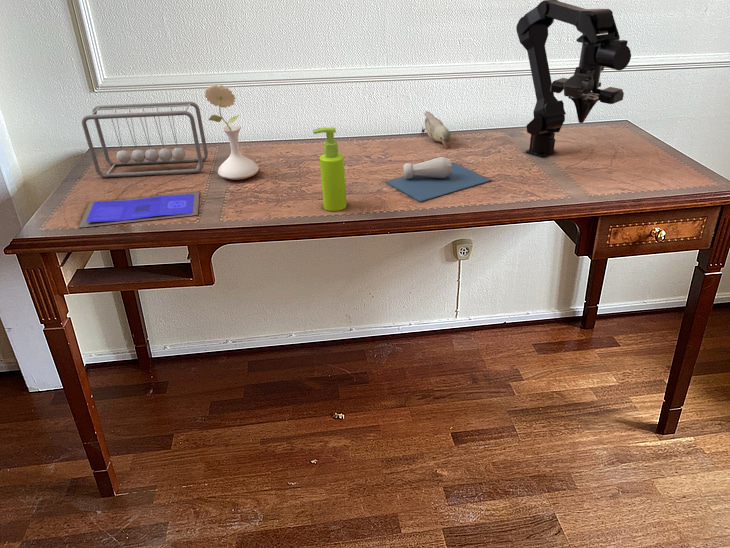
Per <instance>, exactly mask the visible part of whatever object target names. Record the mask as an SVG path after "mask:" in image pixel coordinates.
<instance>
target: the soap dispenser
mask: <svg viewBox="0 0 730 548" xmlns="http://www.w3.org/2000/svg"><path fill="white" fill-rule="evenodd" d="M336 129H337V128H336V127H319V128H314V129H313V130H312V133H313V135H316V134H324V133H326V140H325V141H323V154H321V155H319V158H318V159H319V169H320V182H321V194H322V207H323V209H324V210H326V211H328V212H340V211H342V210H345V209H346V208H347V190H346V171H345V157H344V155H343V154H342V153H340V152H339V143H338V141H337V140H335V134H337V130H336Z"/></svg>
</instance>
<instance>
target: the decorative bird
mask: <svg viewBox="0 0 730 548" xmlns="http://www.w3.org/2000/svg"><path fill="white" fill-rule="evenodd" d="M423 115H424V117H425V118H424V126H423V125H421V126H422V127H421V133H420V135H422V134H423V136H425V134H427V135H428V137H429V138H430V139H431V140H432V141H436V142H438V143H441V144H442V145H443V146H444V148H446V149H447V148H448V147H449V145H450V142H451V132H450V130H449V128H447V126H445V125H444V123H443V121H442V120H441V119H439V118H437V117H435V115H434V114H433V113H432V112H430V111H429V110H425V112H423Z"/></svg>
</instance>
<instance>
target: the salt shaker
mask: <svg viewBox="0 0 730 548" xmlns="http://www.w3.org/2000/svg"><path fill="white" fill-rule="evenodd" d="M451 164H452V161H451V159H450V158H447V157H444V156H439V157H437V158H432V159H429V160H426V161H422V162H419V163H416V164H412V163H410V162H407V163H404V165H403V167H402V168H403V169H402V171H403V177H405V178H406V179H412V178H413V176H414V177H429V178H445V177H447V176H449V175H451V173H452V168H451Z"/></svg>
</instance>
